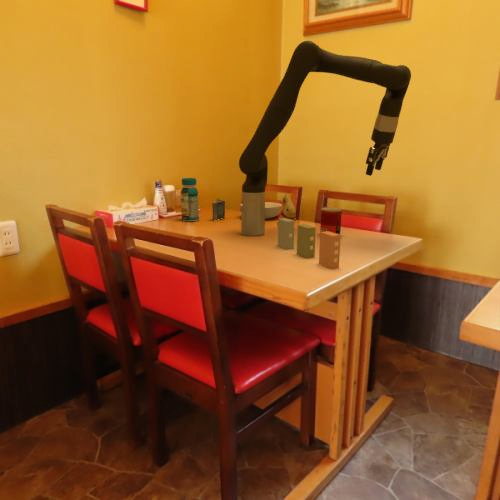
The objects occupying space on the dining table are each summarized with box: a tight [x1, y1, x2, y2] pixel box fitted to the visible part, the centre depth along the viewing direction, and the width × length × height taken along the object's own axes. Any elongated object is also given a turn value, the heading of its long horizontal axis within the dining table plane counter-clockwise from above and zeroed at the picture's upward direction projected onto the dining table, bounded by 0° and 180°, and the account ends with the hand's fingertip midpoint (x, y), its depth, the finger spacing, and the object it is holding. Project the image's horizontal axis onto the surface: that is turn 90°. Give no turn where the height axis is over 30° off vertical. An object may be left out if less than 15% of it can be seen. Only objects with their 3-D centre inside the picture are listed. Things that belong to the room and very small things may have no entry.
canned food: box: [319, 206, 342, 235], centre depth 164 cm, size 8×8×11 cm
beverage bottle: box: [180, 177, 200, 222], centre depth 195 cm, size 8×8×20 cm
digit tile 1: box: [277, 218, 296, 251], centre depth 146 cm, size 3×6×10 cm, turn 27°
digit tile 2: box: [296, 223, 317, 259], centre depth 135 cm, size 3×6×10 cm, turn 27°
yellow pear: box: [276, 193, 297, 227], centre depth 177 cm, size 7×11×15 cm, turn 30°
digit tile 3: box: [318, 231, 342, 269], centre depth 124 cm, size 3×6×10 cm, turn 27°
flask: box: [212, 197, 226, 221], centre depth 198 cm, size 9×3×11 cm, turn 151°
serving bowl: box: [239, 201, 283, 220], centre depth 203 cm, size 21×21×7 cm
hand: (373, 172), depth 151 cm, fingers open, 8 cm apart
